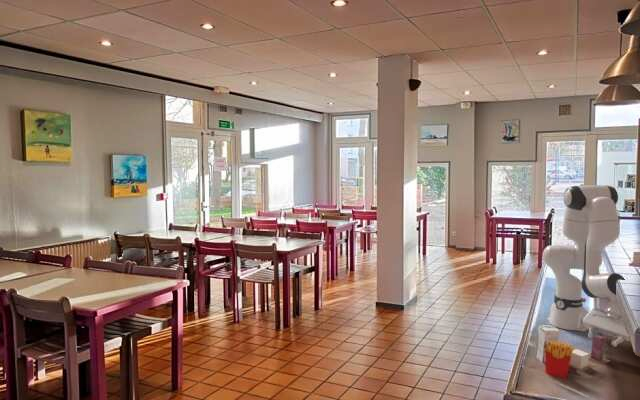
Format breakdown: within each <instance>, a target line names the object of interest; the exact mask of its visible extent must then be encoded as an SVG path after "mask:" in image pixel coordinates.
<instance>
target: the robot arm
mask: <svg viewBox="0 0 640 400" xmlns="http://www.w3.org/2000/svg"><path fill="white" fill-rule="evenodd" d="M618 202H619V194H618V191H617V190H616V188H615V187H613V186H612V185H611V186H610V185H608V184H607V185H605V184H603V185H601V184H600V185H599V184H589V185H588V184H587V185H572V186H569V187H567V188H566V189H565V190H564V193H563V203H564V204H565V212H564V216H563V224H562V234H563V235H564V236H565V237H566V238H567V239H569V240H571V242H572V241H573V242H574V245H565V244H552V245H551V244H550V245H547V246H546V247H545V248H544V250H543V251H542V260H543V262H544V264H545V265H546V266H548V267H549V268H550V269H551V271H552V272H553V274H554V277H555V294H554V297H553V303H552V304H551V308H550V313H549V316H548V317H547V321H548V322H549V324H550V326H554V327H555V328H557V329H562V330H568V331H577V332H578V331H579V332H586V331H588V334H587V337H588V338H589V339H592V340H593V336H595V334H594V332H595V331H598V332H601V333H603V334H606V335H609V336H612V337H615V338H617V339H615V340H614V339H612V341H611V346H613V347H616V348H617V346H618V345H619V344H621V343H622V342H624V340H625V341H628V342H631V341H630V339H629V335H628V333H627V331H626V329H625V325H624V322H623V319H622V315H621V311H620V308H619V304H618V301H617V297H616V284H617V281H618V280H625V279H624V278H625V277H624V276H623V275H621V273H617V272H610V273H607V272H605V273H600V267H601V265H602V263H603V255H602V252H603V250H604V249H605V248H607V247H608V246H610V245H611V244H613V243H614V242H615V241H616V240H617V239H618V238H619V236H620V232H621V231H620V229H621V228H620V221H619V214H618V210H617V206H616V205H617V204H618ZM571 270H583V273H582V274H583V275H582V279H580V278H578V277H577V276H575V275H573V274H572V273H571ZM582 293H584V294H585V295H586V296H587V297H588V298H591V299H597V298H598V299H599V298H608V299H609V300H610V301H608V304H607V305H606V307H605V309H601V308H596V307H595V308H591V309H589V310H587V308H586V307H584V304H583V303H586V302H587V298H586V297H582Z"/></svg>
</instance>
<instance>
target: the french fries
mask: <svg viewBox="0 0 640 400" xmlns="http://www.w3.org/2000/svg"><path fill="white" fill-rule="evenodd" d="M546 346H547V349H546V350H545V362H546V363H545V373H546V374H547V375H549V376H553V377H557V378H563V379H565V378H566V379H567V377H568V372H569V370H568V369H569V364H570V359H571V355H572V352H573V350H574V347H573V346H571V345H569V344H567V343H565V342H562V341H560V342H558V343H557V342H555V343H554V342H553V341H552V342H550V345H548V342H546Z"/></svg>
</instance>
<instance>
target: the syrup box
mask: <svg viewBox="0 0 640 400" xmlns="http://www.w3.org/2000/svg"><path fill="white" fill-rule="evenodd" d="M536 340H537V341H536V349H535V350H536V351H535V358H537V360H539V361H540V362H541V363H543V364H544V363H545V364H546V362H545V350H546V349H547V346H546V342H548V345H550V342H552V341H553V342H554V343H555V342H557V343H559V340H560V330H559V328H558V327H555V326H553V325H538V329H537V339H536Z"/></svg>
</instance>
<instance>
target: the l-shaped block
mask: <svg viewBox="0 0 640 400" xmlns="http://www.w3.org/2000/svg"><path fill="white" fill-rule="evenodd" d="M604 346H605V337H604V336H601V335H598V334H597V335H594V336H593V339H592V343H591V352H590V353H588V354H589V360H588V366H587V367H584V368H581V369H580V368H577V367H575V366H572V365H570V364H569V369H568V372H572V373H574V374H578V373H581V372H584V371H587V370H590V369H592V368H595V367H599V366H600V365H603V364H605V363H608V362H611V360H609V359H607V358H604V349H605V348H604Z"/></svg>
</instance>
